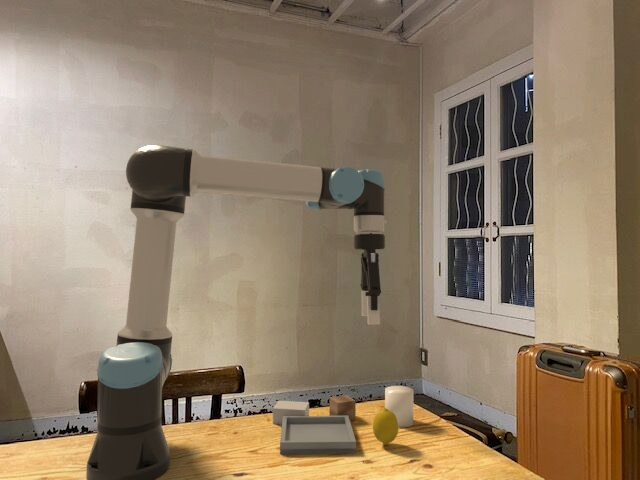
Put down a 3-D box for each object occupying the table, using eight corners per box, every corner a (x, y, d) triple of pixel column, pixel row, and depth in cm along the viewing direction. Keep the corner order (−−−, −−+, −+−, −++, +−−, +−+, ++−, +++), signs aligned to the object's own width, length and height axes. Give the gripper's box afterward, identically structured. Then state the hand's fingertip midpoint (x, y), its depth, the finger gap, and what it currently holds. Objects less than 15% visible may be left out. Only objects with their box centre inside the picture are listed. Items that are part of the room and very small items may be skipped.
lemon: (397, 440, 108) (397, 404, 108) (398, 450, 102) (398, 413, 102) (372, 439, 108) (372, 403, 108) (372, 449, 103) (373, 412, 103)
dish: (280, 454, 100) (280, 442, 100) (282, 426, 116) (282, 416, 116) (355, 453, 101) (355, 441, 101) (348, 425, 117) (348, 415, 117)
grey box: (272, 424, 118) (272, 408, 118) (278, 416, 124) (278, 400, 124) (304, 426, 117) (304, 410, 117) (308, 418, 123) (309, 402, 123)
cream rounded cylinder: (387, 427, 116) (387, 394, 116) (382, 417, 123) (382, 386, 123) (416, 427, 116) (416, 393, 116) (409, 417, 123) (409, 385, 123)
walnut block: (337, 423, 118) (337, 403, 119) (329, 416, 123) (329, 397, 123) (355, 420, 120) (355, 400, 120) (346, 414, 125) (346, 395, 125)
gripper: (392, 231, 105) (394, 328, 105) (377, 234, 130) (378, 312, 130) (358, 231, 105) (359, 328, 105) (350, 235, 130) (351, 313, 130)
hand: (370, 320), depth 117 cm, fingers open, 13 cm apart
